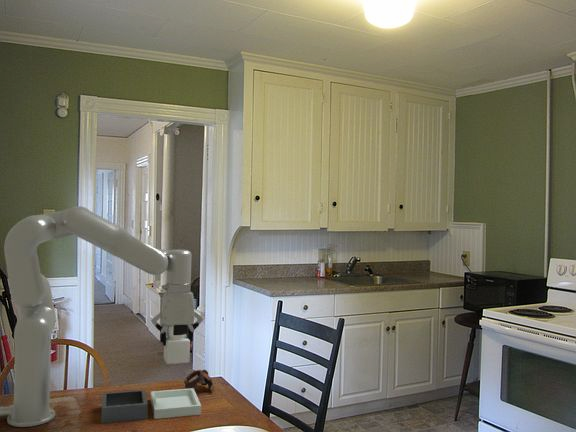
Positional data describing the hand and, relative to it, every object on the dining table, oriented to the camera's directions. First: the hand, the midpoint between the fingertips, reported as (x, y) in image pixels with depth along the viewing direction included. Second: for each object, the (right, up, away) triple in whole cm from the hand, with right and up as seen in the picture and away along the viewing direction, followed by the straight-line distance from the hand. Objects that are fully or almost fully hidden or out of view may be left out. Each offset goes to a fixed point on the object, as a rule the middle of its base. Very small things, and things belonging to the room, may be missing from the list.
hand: (176, 343), depth 163 cm
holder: (-15, -20, -6) cm, 26 cm away
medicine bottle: (0, -6, 0) cm, 6 cm away
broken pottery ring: (+5, -21, +16) cm, 27 cm away
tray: (-1, -20, 0) cm, 20 cm away
